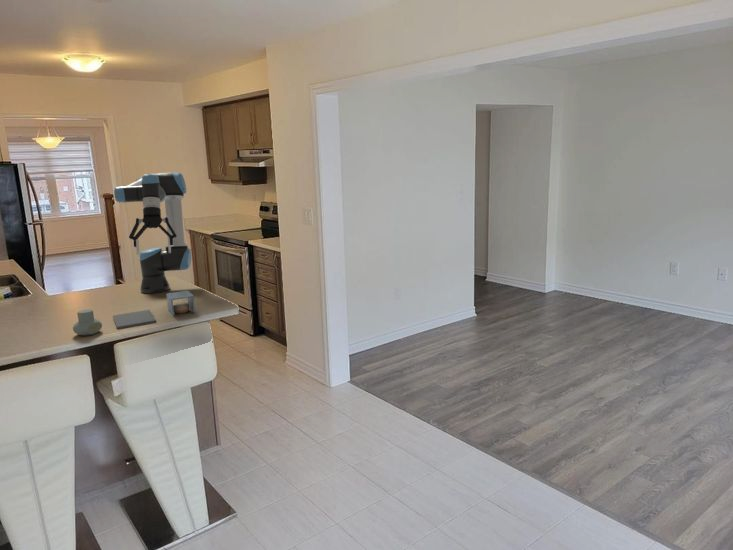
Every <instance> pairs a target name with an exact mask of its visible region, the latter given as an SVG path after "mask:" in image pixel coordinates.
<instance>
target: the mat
mask: <svg viewBox="0 0 733 550" xmlns="http://www.w3.org/2000/svg"><path fill="white" fill-rule="evenodd" d="M112 318H114V319H113V321H114V324H115V327H116V329H117V330H120V329H126V328H132V327H136V326H143V325H147V324H148V325H149V324H153V323H157V319H156V318H155V316H154V315H153V313H152V311H151V310H150V309H144V310H139V311H132V312H126V313H121V314H114V315H112Z"/></svg>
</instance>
